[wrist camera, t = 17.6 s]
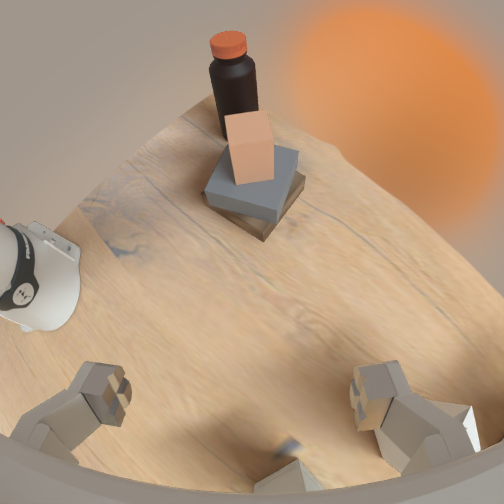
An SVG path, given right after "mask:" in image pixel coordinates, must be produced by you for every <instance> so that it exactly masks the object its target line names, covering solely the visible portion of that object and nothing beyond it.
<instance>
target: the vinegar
mask: <svg viewBox="0 0 504 504" xmlns="http://www.w3.org/2000/svg"><path fill="white" fill-rule="evenodd" d="M210 45H211V50H212V54H213V57H214V58H215V59H214V61H213V62H212V63H211V64H210V67H209V73H210V78H211V83H212V87H213V92H214V96H215V101H216V106H217V110H218V115H219V119H220V124H221V128H222V133H223V136H224V137H225V138H226V139H227V140H228V137H227V130H226V124H225V117H224V116H227V115H233V114H240V113H246V112H254V111H259V108H258V95H257V82H256V69H255V63H254V61H253V59H252V58H250V57H249V56H248V55H246V53H247V44H246V36H245V35H244V34H243V33H241V32H238V31H225V32H221V33H218V34H216V35H215V36H213V37H212V38H211V40H210Z"/></svg>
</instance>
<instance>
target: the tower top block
mask: <svg viewBox="0 0 504 504" xmlns="http://www.w3.org/2000/svg"><path fill="white" fill-rule="evenodd" d="M297 163H298V151H296V150H292V149H288V148H284V147H280V146H276V145H274V179H273V180H266V181H260V182H253V183H247V184H241V185H236V182H235V176H234V171H233V166H232V160H231V155H230V150H229V144H227V146H226V148H225V150H224V152H223V154H222V156H221V158H220V160H219V162H218V164H217V166H216V168H215V170H214V172H213V174H212V176H211V178H210V180H209V182H208V184H207V186H206V188H205V190H204V192H205V194H206V197H207V199H208V202H209V204H210V205H211V206H215V207H218V208H222V209H226V210H229V211H233V212H236V213H240V214H243V215H247V216H250V217H254V218H257V219H260V220H264V221H267V222H271V223H274V224H277V223H278V220H279V217H280V214H281V211H282V209H283V206H284V203H285V200H286V197H287V195H288V192H289V189H290V186H291V183H292V181H293V178H294V175H295V172H296V169H297Z"/></svg>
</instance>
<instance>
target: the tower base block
mask: <svg viewBox="0 0 504 504" xmlns="http://www.w3.org/2000/svg"><path fill="white" fill-rule="evenodd" d="M305 177H306V176H304V175H302V174H300V173H299V172H297V171H296V172H295V175H294V178H293V181H292V183H291V186H290V189H289V192H288V195H287V197H286V200H285V203H284V206H283V209H282V211H281V214H280V217H279V220H278V223H279V221H280V220H281V219H282V217H283V216H284V215H285V213H286V212H287V211H288V209H289V208H290V207H291V205H292V204H293V203H294V201H295V200H296V199H297V197H298V196H299V195H300V193H301V192H302V191H303V189H304V184H305ZM201 195H202V197H203V200H204V202H205V205H206V206H207V207H209V208H211V209H212V210H214V211H215V212H217V213H218V214H220V215H222V216H223V217H225V218H226V219H228V220H230V221H231V222H233V223H234V224H236V225H237V226H239V227H241V228H242V229H244V230H245V231H247V232H248V233H250V234H251V235H253V236H255V237H256V238H258V239H259V240H261V241H262V242H264V241H265V240H266V239H267V237H268V236H269V235H270V233H271V232H272V231H273V229H274V228H275V227H276V225H277V224H278V223H277V224H274V223H271V222H267V221H264V220H260V219H257V218H254V217H250V216H247V215H243V214H240V213H236V212H233V211H229V210H226V209H222V208H218V207H215V206H211V205H210V204H209V202H208V199H207V197H206V194H205V192H204V191H203V192H202V193H201Z"/></svg>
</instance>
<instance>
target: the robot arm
mask: <svg viewBox="0 0 504 504" xmlns="http://www.w3.org/2000/svg"><path fill="white" fill-rule="evenodd" d="M70 248H71V249H70ZM69 249H70V250H69ZM80 254H81V250H80V247H79V246H77V245H75V244H74V243H72V242H70V241H69V240H67V239H65V238H63V237H62V236H60V235H58V234H57V233H55V232H53V231H51V230H50V229H48V228H47V227H45V226H43V225H42V224H40V223H38V222H36V221H35V222H32V223H31V224H29V225H28V226H27V227H25V226H23V225H22V224H20V223H19V224H16V225H14V226H12V227H11V226H5V223H4V222H3V221H2V219H0V316H2V317H3V318H6V319H8V320H10V321H13V322H15V323H18V324H19V326H20V328H21V330H22V331H24V332H27V333H28V332H32V331H34V330H42V331H52V330H55V329H57V328H59V327H60V326H62V325H63V324H64V323H65V322H66V321H67V320H68V319H69V317H70V316H71V314H72V313H73V311H74V309H75V306H76V304H77V301H78V297H79V292H80V275H79V267H78V264H79V260H80ZM124 375H125V372H124V370H123V368H122V367H121V366H117V365H110V364H104V363H96V362H90V361H86V362H84V363H83V364H82V366H81V368H80V369H79V371H78V373H77V374H76V376H75V378H74V379H73V381H72V383H71V385H70V386H69V388H68V390H65V389H64V390H63V391H61V392H59V393H58V394H56V395H55V396H53V397H51V398H50V399H48V400H46V401H45V402H43V403H42V404H40V405H38V406H37V407H35V408H33V409H32V410H30V411H28V412H27V413H25V414H23V415H22V416H21V418H20V420H19V422H18V423H17V425H16V427H15V428H14V430H13V432H12V434H11V436H10V437H6V436H4V435H2V434H0V504H504V440H503V441H501V442H499V443H497V444H494V445H492V446H490V447H488V448H485V449H483V450H481V451H478V452H475V450H474V447H473V445H472V443H471V440H470V438H469V436H468V433H467V431H466V429H465V427H464V425H463V424H462V423H460V422H459V421H457V420H456V419H454V418H453V417H451V416H450V415H448V414H447V413H445V412H444V411H442V410H441V409H439V408H438V407H436V406H435V405H433V404H432V403H430V402H429V401H428V400H426V399H425V398H423V397H422V396H420V395H419V394H417V393H412V391H411V389H410V386H409V384H408V382H407V379H406V377H405V375H404V372H403V370H402V368H401V366H400V363H399V362H398V361H397V360H393V361H386V362H379V363H371V364H364V365H356V366H355V368H354V371H353V375H354V380H353V381H352V382H351V385H350V402H351V407H352V408H354V409H355V410H356V411H355V414H354V420H355V424H356V429H357V432H359V431H367V430H374V429H380V430H381V431H382V432H383V433H384V434H385V435H386V436H387V437H388V438H389V439H390V440H391V441H392V442H393V443H394V444H395V445H396V446H397V447H398V448H399V449H400V450H401V451H402V452H403V453H405V454H406V455H407V456H408V457H409V458H410V459H411V460H410V461H409V463H408V464H407V465H406V467H405V468H404V469H403V471H402V472H401V477H397V478H393V479H388V480H384V481H379V482H374V483H368V484H363V485H357V486H351V487H344V488H336V489H328V490H319V491H307V492H292V493H228V492H213V491H201V490H192V489H183V488H176V487H169V486H163V485H157V484H151V483H146V482H141V481H136V480H131V479H127V478H122V477H118V476H114V475H110V474H106V473H103V472H99V471H95V470H92V469H89V468H85V467H82V466H79V465H78V464H79V461H78V459H77V458H76V457H75V456H74V455H73V454H72V453H71V451H72V450H74V449H75V448H76V447H77V446H78V445H79V444H80V443H82V442H83V441H84V440H85V439H86V438H87V437H88V436H89V435H91V434H92V433H93V432H94V431H95V430H96V429H97V428H98V427H100V426H101V424H105V425H111V426H117V427H121V424H122V422H123V419H124V417H125V414H126V413H125V411H124V408H125V407H127V406H128V405H129V404H130V401H131V397H132V389H131V385H130V383H129V381H128V380H127V379H126V378H124Z"/></svg>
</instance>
